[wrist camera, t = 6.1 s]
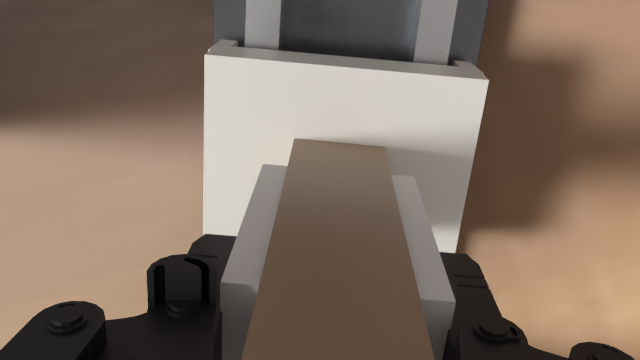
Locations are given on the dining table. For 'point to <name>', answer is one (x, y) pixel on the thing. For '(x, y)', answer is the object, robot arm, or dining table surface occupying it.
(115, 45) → the dining table surface
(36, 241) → the dining table surface
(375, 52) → the rail track
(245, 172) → the carriage
